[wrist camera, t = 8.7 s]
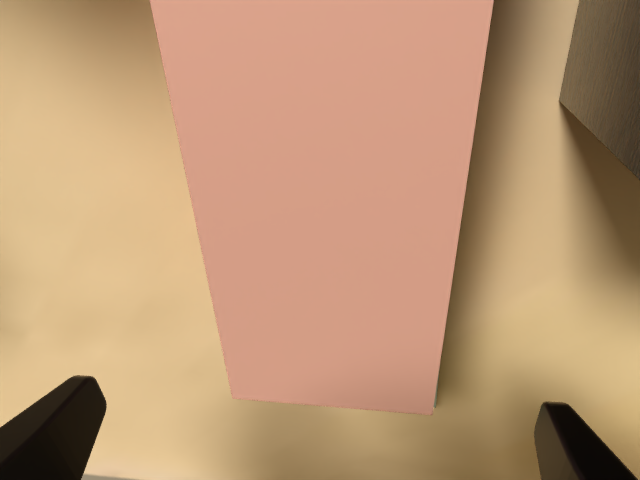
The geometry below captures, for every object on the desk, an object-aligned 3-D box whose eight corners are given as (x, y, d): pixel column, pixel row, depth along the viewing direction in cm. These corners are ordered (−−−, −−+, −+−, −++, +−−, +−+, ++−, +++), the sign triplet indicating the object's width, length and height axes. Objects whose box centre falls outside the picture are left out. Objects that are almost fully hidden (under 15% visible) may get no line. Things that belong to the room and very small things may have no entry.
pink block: (490, -303, 8) (568, -488, 4) (423, 306, 15) (433, 415, 11) (194, -274, 8) (61, -413, 5) (266, 297, 15) (231, 398, 12)
